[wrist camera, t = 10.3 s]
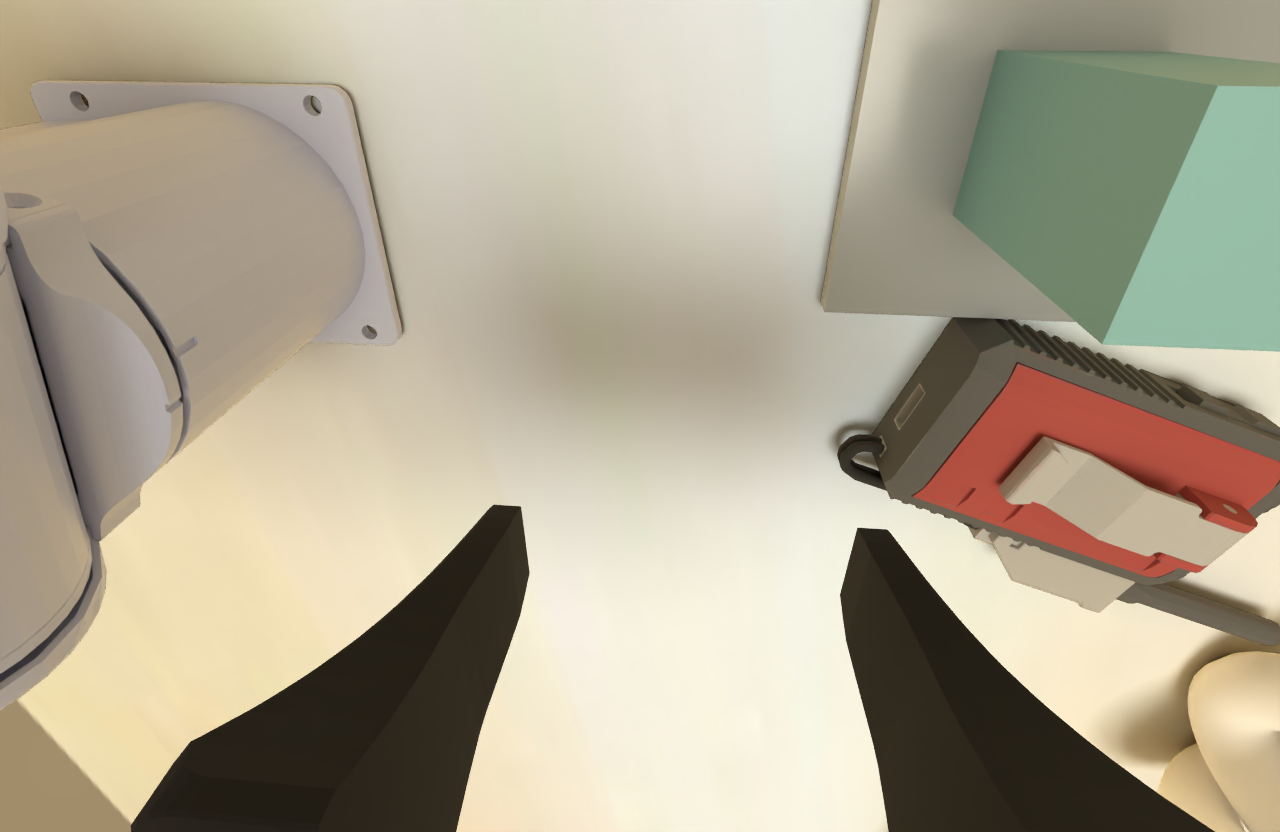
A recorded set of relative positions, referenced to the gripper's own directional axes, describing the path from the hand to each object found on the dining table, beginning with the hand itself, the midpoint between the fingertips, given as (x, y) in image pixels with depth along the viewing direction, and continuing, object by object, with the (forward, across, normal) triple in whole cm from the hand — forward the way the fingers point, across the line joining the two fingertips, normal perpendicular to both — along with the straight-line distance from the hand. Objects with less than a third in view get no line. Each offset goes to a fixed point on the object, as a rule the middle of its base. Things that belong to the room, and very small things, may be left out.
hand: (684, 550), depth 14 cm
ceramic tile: (+9, -9, -7) cm, 15 cm away
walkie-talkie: (+10, -15, +5) cm, 19 cm away
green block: (+9, -9, -7) cm, 14 cm away
